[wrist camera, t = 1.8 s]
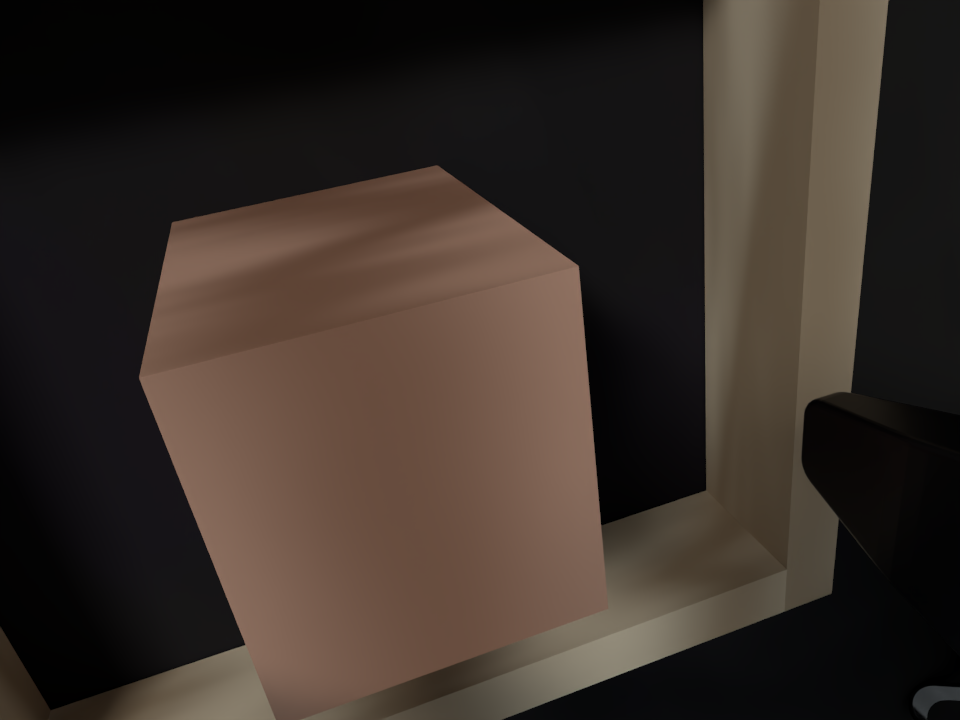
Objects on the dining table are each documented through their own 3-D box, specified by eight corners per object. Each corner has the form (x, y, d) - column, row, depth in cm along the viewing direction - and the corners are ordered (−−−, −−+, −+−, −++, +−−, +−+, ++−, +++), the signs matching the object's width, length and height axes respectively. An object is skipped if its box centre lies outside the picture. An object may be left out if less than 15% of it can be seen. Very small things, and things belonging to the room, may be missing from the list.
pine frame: (767, -241, 12) (918, -309, 10) (748, 514, 19) (831, 593, 17) (-568, -93, 8) (-918, -140, 6) (12, 770, 16) (-30, 923, 13)
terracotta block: (437, 164, 13) (578, 265, 8) (477, 407, 15) (608, 609, 10) (172, 222, 12) (138, 378, 7) (257, 471, 15) (278, 727, 9)
